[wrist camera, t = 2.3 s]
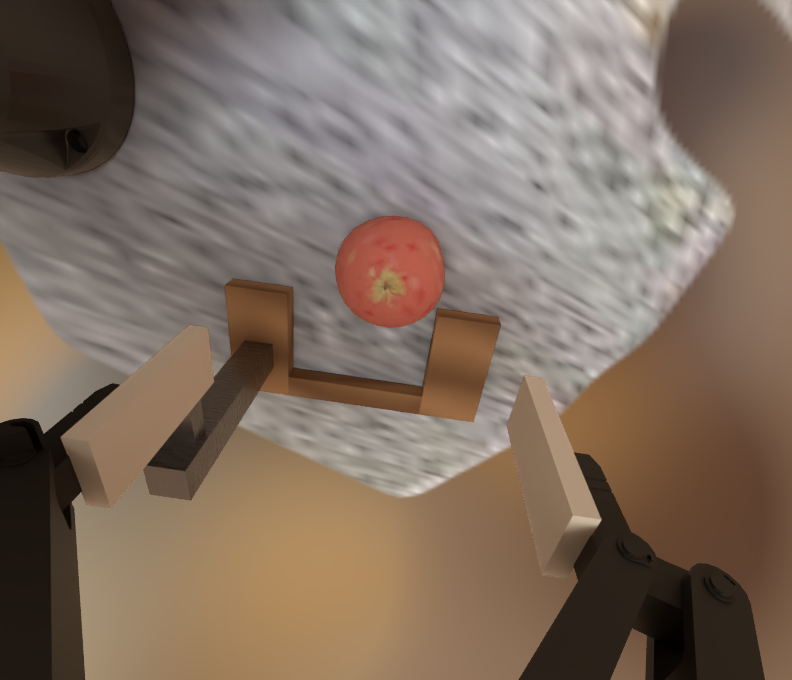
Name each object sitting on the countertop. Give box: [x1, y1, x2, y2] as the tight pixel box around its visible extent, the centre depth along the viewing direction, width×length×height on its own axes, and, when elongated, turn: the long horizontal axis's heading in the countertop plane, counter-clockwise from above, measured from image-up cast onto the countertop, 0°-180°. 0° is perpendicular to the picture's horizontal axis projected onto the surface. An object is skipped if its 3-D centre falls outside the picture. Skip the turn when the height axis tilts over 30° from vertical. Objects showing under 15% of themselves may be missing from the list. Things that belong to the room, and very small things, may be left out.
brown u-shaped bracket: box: [225, 279, 501, 422], centre depth 35 cm, size 10×22×2 cm, turn 83°
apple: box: [335, 216, 445, 327], centre depth 28 cm, size 7×7×8 cm
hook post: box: [143, 340, 274, 500], centre depth 28 cm, size 7×2×14 cm, turn 173°
